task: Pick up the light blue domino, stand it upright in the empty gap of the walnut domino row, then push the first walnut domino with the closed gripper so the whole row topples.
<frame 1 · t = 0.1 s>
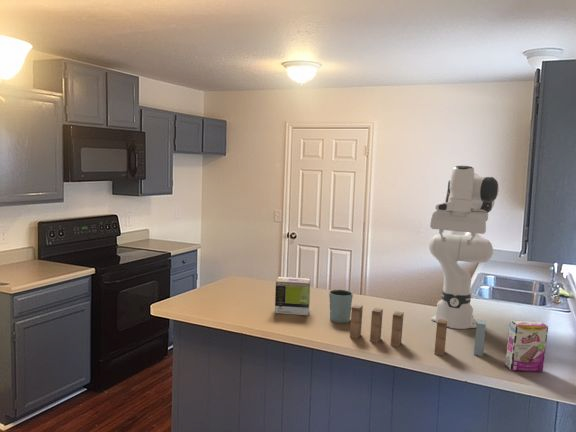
hand: (456, 243, 188), 39 cm above the counter, tool pointing down, fingers open, 8 cm apart
domino 2: (375, 339, 189), on the counter
tea box: (292, 311, 220), on the counter
drinking glass: (339, 319, 212), on the counter
domino 1: (355, 335, 193), on the counter
candy bar box: (523, 369, 168), on the counter
domino 5: (439, 352, 180), on the counter
domino 3: (395, 343, 186), on the counter
light blue domino: (478, 353, 181), on the counter
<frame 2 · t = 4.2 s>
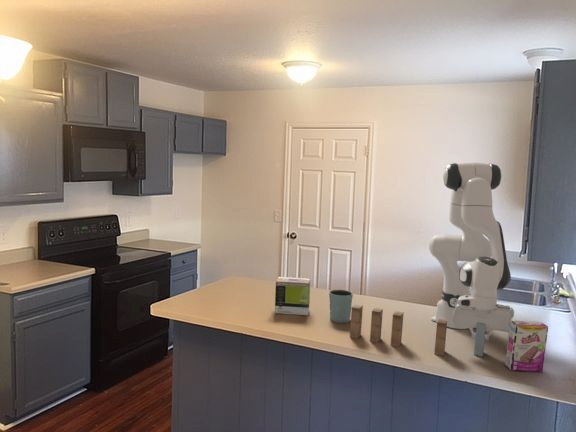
hand: (479, 338, 180), 6 cm above the counter, tool pointing down, fingers closed on light blue domino, 3 cm apart
light blue domino: (478, 353, 181), on the counter, touching gripper
everything else where it was.
when the fingers open (7 cm above the counter, at t = 12.3 s): light blue domino drops 1 cm, on the counter.
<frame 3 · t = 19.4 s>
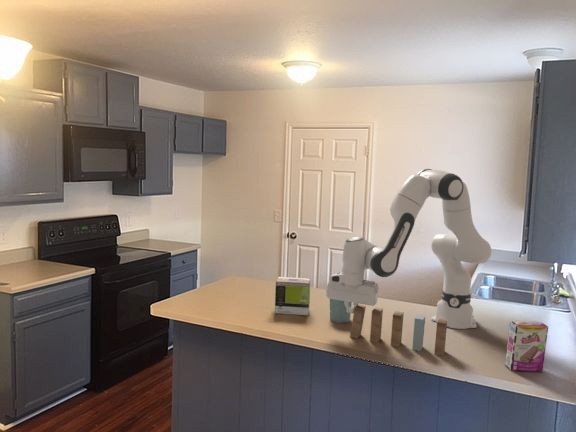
hand: (350, 312, 193), 9 cm above the counter, tool pointing down, fingers closed
domino 1: (355, 335, 193), on the counter, tilted 6°, touching gripper
light blue domino: (417, 348, 183), on the counter
everything else where it was.
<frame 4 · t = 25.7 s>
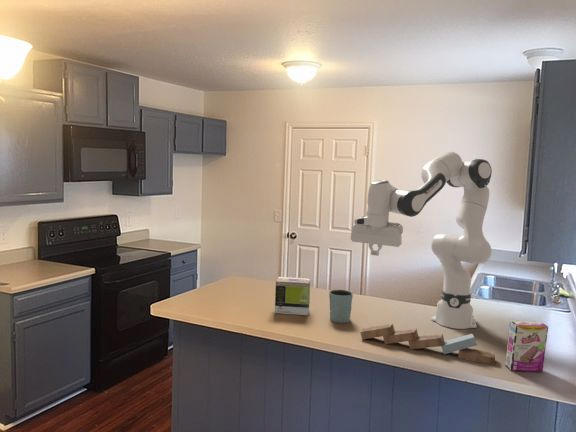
hand: (374, 255, 197), 31 cm above the counter, tool pointing down, fingers closed
domino 2: (385, 338, 188), point 1 cm above the counter, tilted 72°, touching domino 1, domino 3
domino 1: (362, 333, 191), point 1 cm above the counter, tilted 70°, touching domino 2
domino 5: (458, 352, 177), point 1 cm above the counter, tilted 90°, touching light blue domino
domino 3: (410, 343, 184), point 1 cm above the counter, tilted 73°, touching domino 2
light blue domino: (441, 348, 180), point 2 cm above the counter, tilted 67°, touching domino 5
everything else where it was.
at the end: domino 5 tilted 90°; light blue domino tilted 67°; light blue domino inside the target area (5.7 cm from its centre), point 1.6 cm above the counter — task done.
